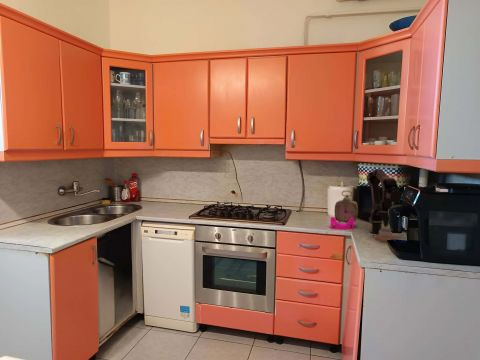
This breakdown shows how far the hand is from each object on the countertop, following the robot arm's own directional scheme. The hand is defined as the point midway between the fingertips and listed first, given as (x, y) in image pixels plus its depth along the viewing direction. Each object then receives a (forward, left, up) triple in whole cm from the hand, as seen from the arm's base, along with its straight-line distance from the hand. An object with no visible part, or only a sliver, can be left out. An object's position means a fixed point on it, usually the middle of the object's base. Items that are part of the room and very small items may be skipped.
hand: (386, 225), depth 185 cm
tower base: (0, 0, -9) cm, 9 cm away
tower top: (0, 0, -6) cm, 6 cm away
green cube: (0, 0, -1) cm, 1 cm away
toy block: (-8, -31, -9) cm, 33 cm away
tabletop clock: (-17, -32, -8) cm, 37 cm away
